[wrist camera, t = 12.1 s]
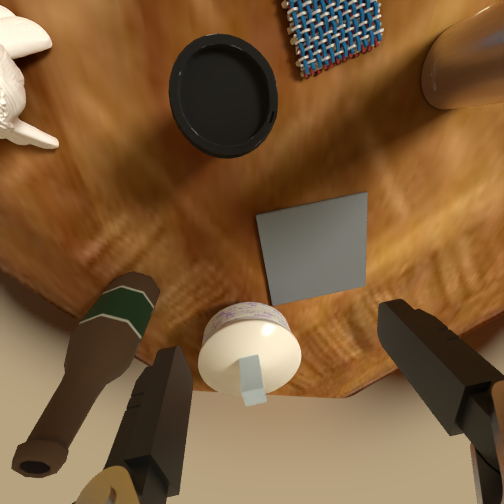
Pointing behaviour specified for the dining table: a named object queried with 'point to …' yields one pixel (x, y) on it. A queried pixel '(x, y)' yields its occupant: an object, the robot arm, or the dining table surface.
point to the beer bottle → (89, 370)
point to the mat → (315, 248)
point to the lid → (249, 359)
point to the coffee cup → (223, 95)
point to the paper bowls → (243, 316)
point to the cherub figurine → (19, 78)
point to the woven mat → (331, 30)
